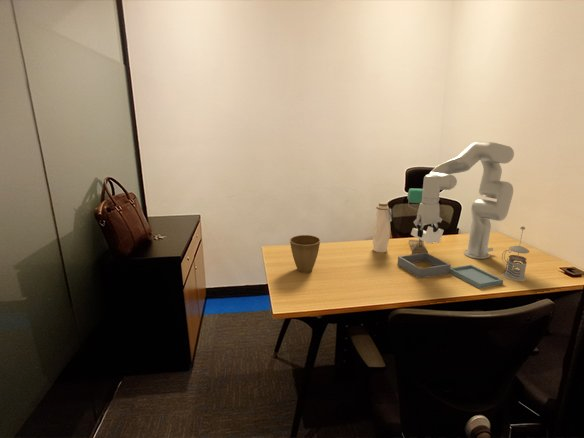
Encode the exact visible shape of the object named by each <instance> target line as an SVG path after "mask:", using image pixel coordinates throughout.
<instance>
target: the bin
mask: <svg viewBox="0 0 584 438" xmlns="http://www.w3.org/2000/svg"><path fill="white" fill-rule="evenodd" d="M421 262H425V263H428V264H430V265H432V266H429V267H423V268H422V267H419V266H418V265H415V264H416V263H421ZM414 263H415V264H414ZM397 265H398V266H399V267H400V268H403V269H404V270H406V271H407V272H409V273H410V274H412V275H414V276H415V277H417V278H419V279H422V278H428V277H434V276H442V275H447V274H451V273H450V268H451V264H450V263H448V262H446V261H445V260H442V259H440V258H439V257H436V256H434V255H432V254H430V253H429V252H428V253H420V254H416V253H411V254H406V255H405V254H404V255H399V256H398V257H397Z"/></svg>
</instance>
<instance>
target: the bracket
mask: <svg viewBox="0 0 584 438" xmlns="http://www.w3.org/2000/svg"><path fill="white" fill-rule="evenodd" d="M444 231H445V230H444V229H442V228H439V227H438V228H437V230H436V232H433V228H432V226H429V225H428V226H427V229H426V230H424V229H423V235H422V238H421V237H418V236H417V233H418V228H415V227H412V230H411V232H410V235H411V236H413V237H415V238H416V239H417V240H419V239H420V240H422V241H423V242H424V243H426V244H430V245H431V244H434V243H436V244H440V243H441V238H442V236H443V233H444Z"/></svg>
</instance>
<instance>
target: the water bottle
mask: <svg viewBox="0 0 584 438" xmlns="http://www.w3.org/2000/svg"><path fill="white" fill-rule="evenodd" d="M375 209H376V222H375V232H374V233H373V234H374V235H373V237H372V245H373V247H372V250H373V251H374V252H377V253H386V252H387V250H388V247H389V241H390V237H391V222H392V221H393V216H392V215H393V214H392V208H390V207H389V204H388V202H385V201H384V202H383V201H381V202H378V205H377V206H376V207H375Z"/></svg>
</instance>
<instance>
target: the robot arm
mask: <svg viewBox="0 0 584 438" xmlns="http://www.w3.org/2000/svg"><path fill="white" fill-rule="evenodd" d="M514 156H515V151H514V149H513V148H512V147H511V146H509V145H505V144H501V143H498V142H492V141H490V142H489V141H474V142H473V143H471V144H470V145H468V146H467V147H466V148H465V149H464V150H463V151H462V152H461V153H459V154H458V155H457V156H456V157H454V158H452V159H449V160H447V161H445V162H442V163H440V164H438V165H436V167H434V168H433V169H432V170H431V171H430V172H429V173H428V174H425V176H424V177H423V184H422V189H423V193H422V203H419V206H418V208H417V210H418V211H417V213H416V218H415V220H413V224H414V225H415V227H416V229H418V233H417V236H418V237H421V238H422V235H423V230H424V227H425V226H427V225H431V227H432V228H433V232H436V231H437V230H438V229H439V226H440V224H441V223H442V221H443V218H442V217H441V215H440V213H441V212H440V211H441V209H440V203H439V201H440V200H441V197H440V191H444V190H445V191H450V190H452V189H455V187H456V186H457V185H458V184H457V183H458V182H457V180H458V179H457V178H456V176H455V175H453V174H460V173H465V172H467V171H469V170H470V169H471V168H472V167H474V166H475V165H476V164H477V163H478V162H479V161H480V162H481V164H482V169H483V172H482V176H481V180H480V183H479V187H478V188H479V190H478V194H479V195H480V196H482V197H484V198H485V199H484V198H478V199H475V200H474V201H473V202H472V203H471V223H470V231H469V237H468V238H469V239H468V244H467V245H468V246H467V249H465V250H464V252H463V254H464V255H465V256H467V257H468V258H469V257H470V258H472V259H477V260H487V259H489V258H490V253H489V252H493V251H494V248H493V247H489V243H490V242H489V241H490V234H491V229H492V225H491V224H492V223H491V221H492V220H493V221H496V222H501V221H502V222H503V221H504V220H505V219H506V218H507V216H508V214H509V211H510V207H511V203H512V199H513V195H514V187H513V184H512V183H511V182H508V181H503V180H501V179H502V178H501V177H502V174H503V173H502V172H503V171H502V166H501V164H509V163H511V161H512V160H513V159H514ZM486 198H487V199H486ZM488 198H489V199H493V200H489V199H488ZM494 200H496V201H494ZM490 220H491V221H490ZM421 224H422V225H421ZM422 229H423V230H422Z"/></svg>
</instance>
